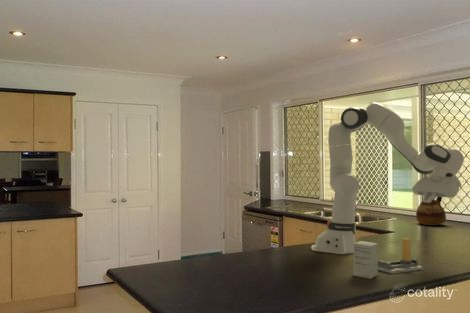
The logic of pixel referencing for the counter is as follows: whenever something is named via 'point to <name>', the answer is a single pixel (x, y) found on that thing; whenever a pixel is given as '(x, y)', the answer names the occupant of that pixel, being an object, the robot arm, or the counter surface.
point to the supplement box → (365, 259)
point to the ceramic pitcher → (431, 212)
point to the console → (398, 266)
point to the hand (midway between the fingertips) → (426, 201)
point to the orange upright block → (406, 251)
